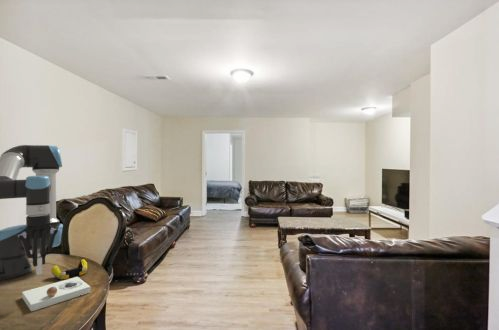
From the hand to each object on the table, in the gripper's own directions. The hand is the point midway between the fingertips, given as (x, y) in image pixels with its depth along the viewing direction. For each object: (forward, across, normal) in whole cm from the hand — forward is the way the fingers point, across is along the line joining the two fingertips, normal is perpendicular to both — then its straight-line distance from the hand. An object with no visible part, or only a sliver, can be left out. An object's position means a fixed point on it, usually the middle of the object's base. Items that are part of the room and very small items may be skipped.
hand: (39, 273), depth 111 cm
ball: (+9, +10, 0) cm, 14 cm away
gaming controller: (+12, +16, +19) cm, 28 cm away
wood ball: (+6, +3, -6) cm, 9 cm away
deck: (+11, +6, -1) cm, 12 cm away
